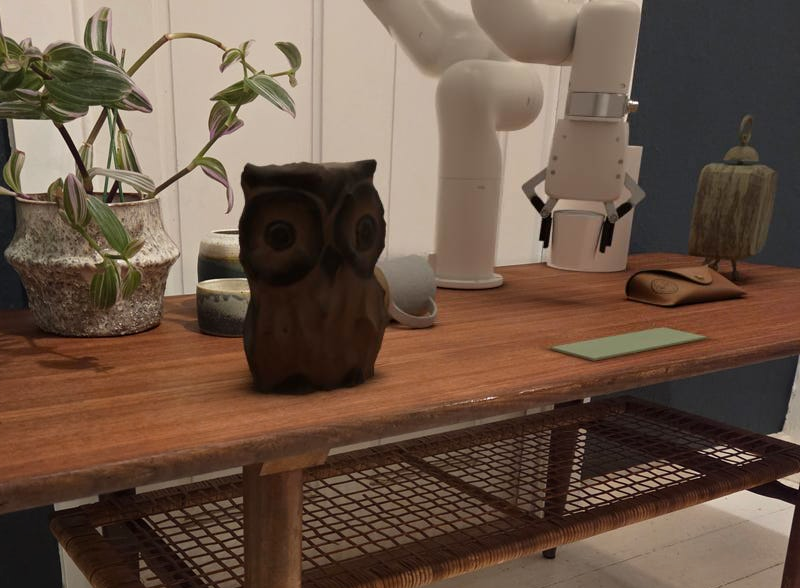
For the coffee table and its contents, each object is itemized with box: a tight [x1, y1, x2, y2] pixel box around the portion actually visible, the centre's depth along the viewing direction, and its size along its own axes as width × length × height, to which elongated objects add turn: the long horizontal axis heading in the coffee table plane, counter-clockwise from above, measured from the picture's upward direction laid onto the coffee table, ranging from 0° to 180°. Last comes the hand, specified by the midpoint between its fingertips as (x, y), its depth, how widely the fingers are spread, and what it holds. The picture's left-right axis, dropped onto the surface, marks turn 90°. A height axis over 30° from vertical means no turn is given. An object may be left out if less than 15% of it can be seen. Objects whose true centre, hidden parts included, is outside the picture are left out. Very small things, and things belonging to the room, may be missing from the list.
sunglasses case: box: [624, 263, 749, 307], centre depth 128 cm, size 18×7×7 cm
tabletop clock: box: [687, 114, 779, 281], centre depth 140 cm, size 14×9×25 cm, turn 144°
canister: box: [546, 145, 644, 273], centre depth 153 cm, size 14×14×20 cm
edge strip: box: [550, 326, 708, 362], centre depth 100 cm, size 20×6×1 cm, turn 124°
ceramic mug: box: [374, 253, 438, 329], centre depth 109 cm, size 11×8×8 cm
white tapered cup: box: [551, 210, 605, 268], centre depth 120 cm, size 7×7×7 cm
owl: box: [237, 158, 391, 396], centre depth 80 cm, size 13×13×20 cm
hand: (573, 248), depth 121 cm, fingers closed on white tapered cup, 6 cm apart
